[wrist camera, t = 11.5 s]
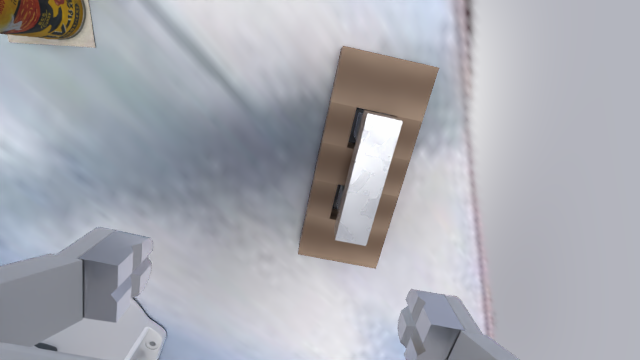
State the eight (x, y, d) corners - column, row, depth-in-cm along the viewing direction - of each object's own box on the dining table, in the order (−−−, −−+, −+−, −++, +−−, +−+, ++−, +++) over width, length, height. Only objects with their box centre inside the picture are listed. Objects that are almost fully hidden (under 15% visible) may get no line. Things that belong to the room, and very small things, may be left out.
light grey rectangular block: (357, 212, 37) (366, 246, 30) (332, 207, 37) (335, 240, 30) (385, 110, 33) (402, 121, 26) (357, 104, 33) (367, 113, 26)
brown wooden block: (371, 254, 39) (375, 268, 36) (299, 240, 38) (298, 254, 35) (428, 68, 32) (439, 67, 29) (341, 48, 31) (343, 45, 28)
